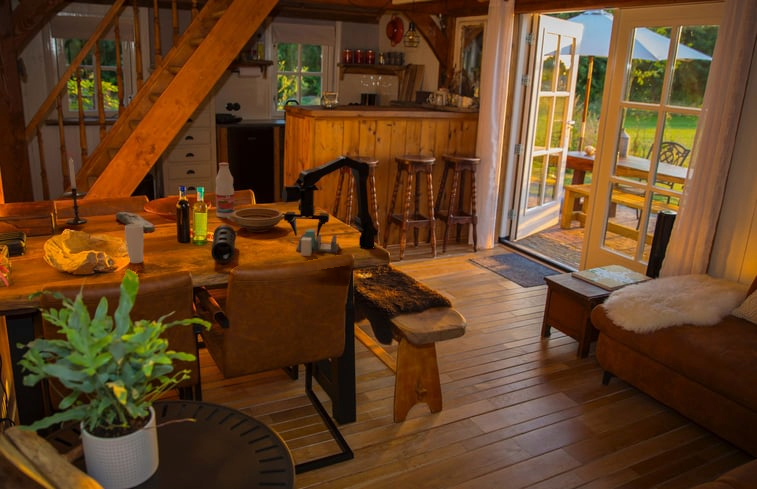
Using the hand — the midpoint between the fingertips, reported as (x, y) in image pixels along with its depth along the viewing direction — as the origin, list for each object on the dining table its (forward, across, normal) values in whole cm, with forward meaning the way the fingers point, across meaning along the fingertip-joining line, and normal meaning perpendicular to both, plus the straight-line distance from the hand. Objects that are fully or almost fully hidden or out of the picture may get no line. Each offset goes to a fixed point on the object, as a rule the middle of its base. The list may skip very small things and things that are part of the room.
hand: (306, 236), depth 259 cm
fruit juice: (+8, +51, -60) cm, 80 cm away
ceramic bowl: (+8, +29, -37) cm, 48 cm away
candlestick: (+8, +117, -34) cm, 122 cm away
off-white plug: (+8, 0, 0) cm, 8 cm away
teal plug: (+7, 0, -9) cm, 11 cm away
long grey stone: (+8, +89, -36) cm, 96 cm away
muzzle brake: (+8, +34, +7) cm, 36 cm away
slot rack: (+8, -4, -9) cm, 13 cm away
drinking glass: (+8, +66, +20) cm, 69 cm away
